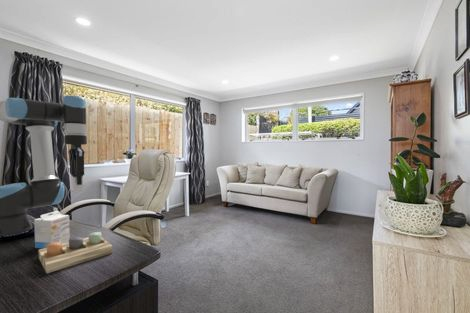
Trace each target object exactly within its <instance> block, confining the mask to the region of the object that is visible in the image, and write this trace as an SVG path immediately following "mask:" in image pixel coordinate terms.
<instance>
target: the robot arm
mask: <svg viewBox="0 0 470 313" xmlns="http://www.w3.org/2000/svg"><path fill="white" fill-rule="evenodd" d="M0 121H2V122H4V123H5V122H6V123H8V124H14V125H24V126H25V130H26V131H28V132H29V136H30V146H31V147H30V148H31V149H30V150H31V160H32V170H33V171H32V172H33V178H32V179H31V180H30V182H29V183H30V184H28V185H27V183H26V182H16V183H9V184H4V185H1V186H0V238H1V236H3V235H12V234H18V233H22V232H26V231H29V230H30V229H32V228H33V223H32V221H31V220H30V218H29V215H28V210H29V209H36V208H42V207H49V206H53V205H57V204H60V203H61V202H63V199H64V196H65V191H66V190H65V183H64V182H63V181H60V178H59V177H57V176H56V173H55V172H56V170H55V162H54V161H55V160H54V152H53V140H52V139H53V138H52V132H53V131H54V129H55V127H57V126H58V123H63V126H62V127H61V128H62V129H64V130H63V133H64V134H65V135H64V136H63V137H64V138H63V139H64V145H70V149H69V150H68V160H69V174H70V176H71V178H70V179H71V192H74V194H82V193H84V178H83V176H85V154H86V153H85V150H84V149H83V148H82V145H87V144H88V138H87V136H86V135H87V134H88V132H87V131H88V130H87V105H86V98H84V97H83V96H79V95H74V94H73V95H70V94H69V95H64V96H63V97H62V103H60V102H59V103H58V102H51V101H44V100H42V101H41V100H34V99H25V98H20V97H8V98H6V100H1V101H0Z"/></svg>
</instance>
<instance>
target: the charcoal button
mask: <svg viewBox="0 0 470 313" xmlns="http://www.w3.org/2000/svg"><path fill="white" fill-rule="evenodd" d="M83 238H84V237H83V236H74V237H73V236H72V237H70V239H69V249H71V250H73V249H78V248H81V247H83Z"/></svg>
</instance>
